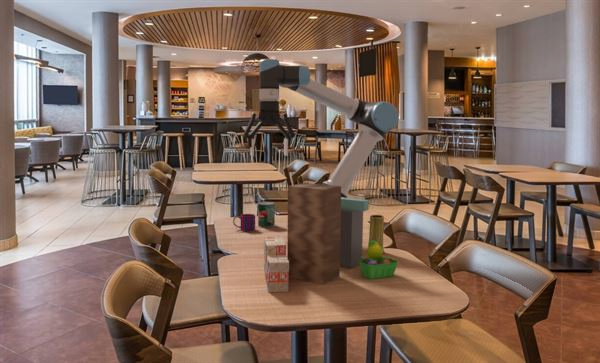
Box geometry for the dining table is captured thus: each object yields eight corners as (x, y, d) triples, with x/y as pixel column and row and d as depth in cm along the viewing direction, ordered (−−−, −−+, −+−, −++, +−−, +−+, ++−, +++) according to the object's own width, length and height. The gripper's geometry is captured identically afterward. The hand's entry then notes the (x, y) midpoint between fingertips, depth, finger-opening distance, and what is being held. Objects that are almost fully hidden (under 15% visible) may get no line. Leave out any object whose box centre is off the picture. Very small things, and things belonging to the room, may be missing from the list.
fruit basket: (369, 280, 172) (369, 246, 171) (355, 273, 180) (356, 240, 179) (398, 276, 177) (400, 243, 175) (384, 269, 185) (385, 237, 183)
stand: (287, 277, 175) (287, 186, 171) (303, 269, 184) (304, 182, 180) (324, 284, 168) (326, 189, 164) (339, 276, 176) (341, 186, 173)
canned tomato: (277, 224, 258) (277, 202, 257) (270, 228, 251) (270, 204, 249) (262, 223, 261) (262, 201, 259) (255, 226, 253) (255, 203, 252)
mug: (254, 231, 243) (254, 216, 242) (232, 231, 243) (232, 216, 242) (255, 228, 250) (255, 213, 249) (234, 228, 250) (234, 213, 249)
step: (320, 263, 192) (321, 208, 189) (332, 257, 200) (333, 204, 197) (350, 268, 186) (352, 211, 183) (361, 262, 193) (363, 207, 191)
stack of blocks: (288, 292, 161) (289, 252, 159) (268, 292, 160) (268, 252, 159) (282, 271, 182) (282, 236, 180) (263, 272, 181) (263, 236, 180)
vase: (385, 251, 210) (386, 215, 208) (382, 254, 204) (383, 218, 202) (369, 249, 212) (370, 214, 210) (366, 253, 206) (367, 216, 204)
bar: (299, 204, 197) (299, 194, 197) (304, 202, 200) (304, 193, 200) (364, 211, 184) (364, 201, 183) (368, 209, 187) (368, 200, 186)
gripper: (239, 99, 198) (239, 157, 201) (303, 100, 206) (302, 155, 209) (235, 100, 205) (235, 155, 208) (297, 101, 213) (296, 154, 216)
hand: (269, 155), depth 208 cm, fingers open, 13 cm apart
